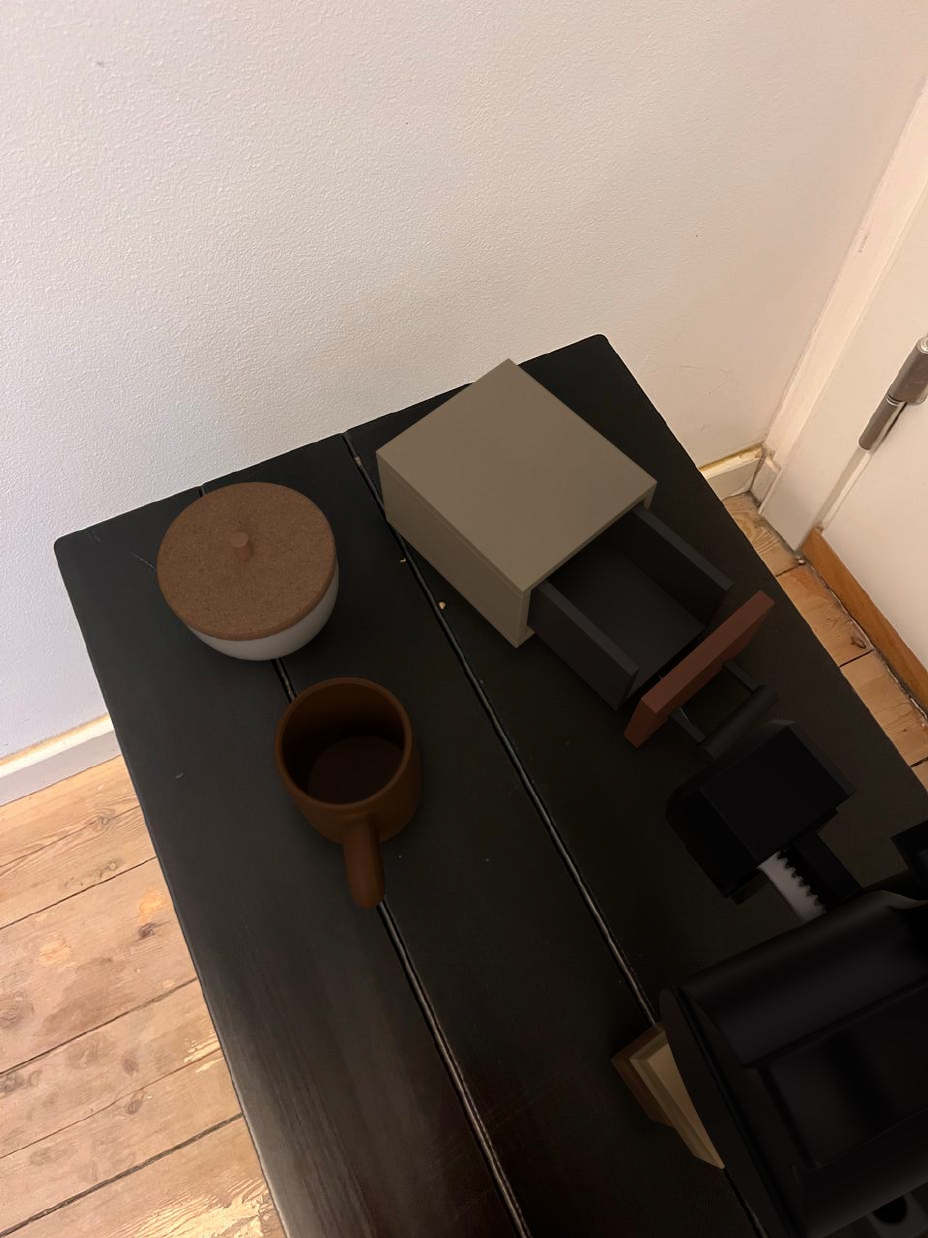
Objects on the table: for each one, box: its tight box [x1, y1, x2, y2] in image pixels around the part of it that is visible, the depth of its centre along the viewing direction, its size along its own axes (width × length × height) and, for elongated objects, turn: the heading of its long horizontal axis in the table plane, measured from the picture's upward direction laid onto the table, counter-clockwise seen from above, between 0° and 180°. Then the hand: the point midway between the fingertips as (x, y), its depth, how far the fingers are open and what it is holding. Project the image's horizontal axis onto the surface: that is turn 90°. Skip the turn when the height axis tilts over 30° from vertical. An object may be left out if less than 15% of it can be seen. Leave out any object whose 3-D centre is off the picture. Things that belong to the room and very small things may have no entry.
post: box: [610, 1020, 676, 1130], centre depth 42 cm, size 3×3×10 cm
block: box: [629, 1031, 725, 1170], centre depth 36 cm, size 4×4×4 cm
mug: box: [272, 676, 423, 909], centre depth 49 cm, size 12×8×9 cm, turn 11°
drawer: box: [527, 503, 780, 764], centre depth 54 cm, size 16×10×6 cm, turn 42°
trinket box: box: [156, 481, 340, 661], centre depth 55 cm, size 11×11×9 cm
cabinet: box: [375, 357, 658, 649], centre depth 58 cm, size 14×12×8 cm
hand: (812, 985), depth 38 cm, fingers open, 9 cm apart
